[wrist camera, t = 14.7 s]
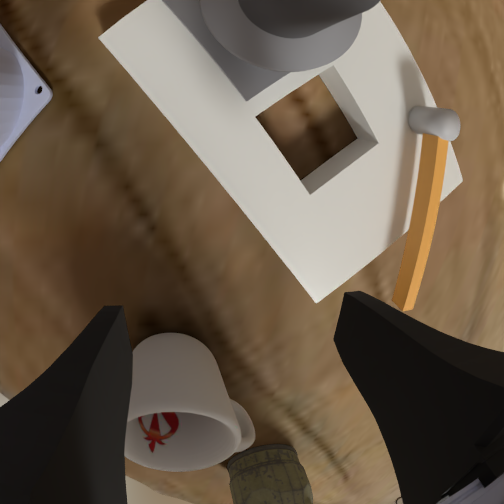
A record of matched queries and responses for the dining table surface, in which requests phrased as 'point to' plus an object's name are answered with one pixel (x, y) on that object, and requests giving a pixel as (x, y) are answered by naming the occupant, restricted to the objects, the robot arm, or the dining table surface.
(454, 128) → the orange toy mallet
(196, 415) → the cup
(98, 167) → the dining table surface
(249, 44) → the plug
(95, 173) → the dining table surface
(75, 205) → the dining table surface
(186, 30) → the socket board
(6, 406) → the robot arm
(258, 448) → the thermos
